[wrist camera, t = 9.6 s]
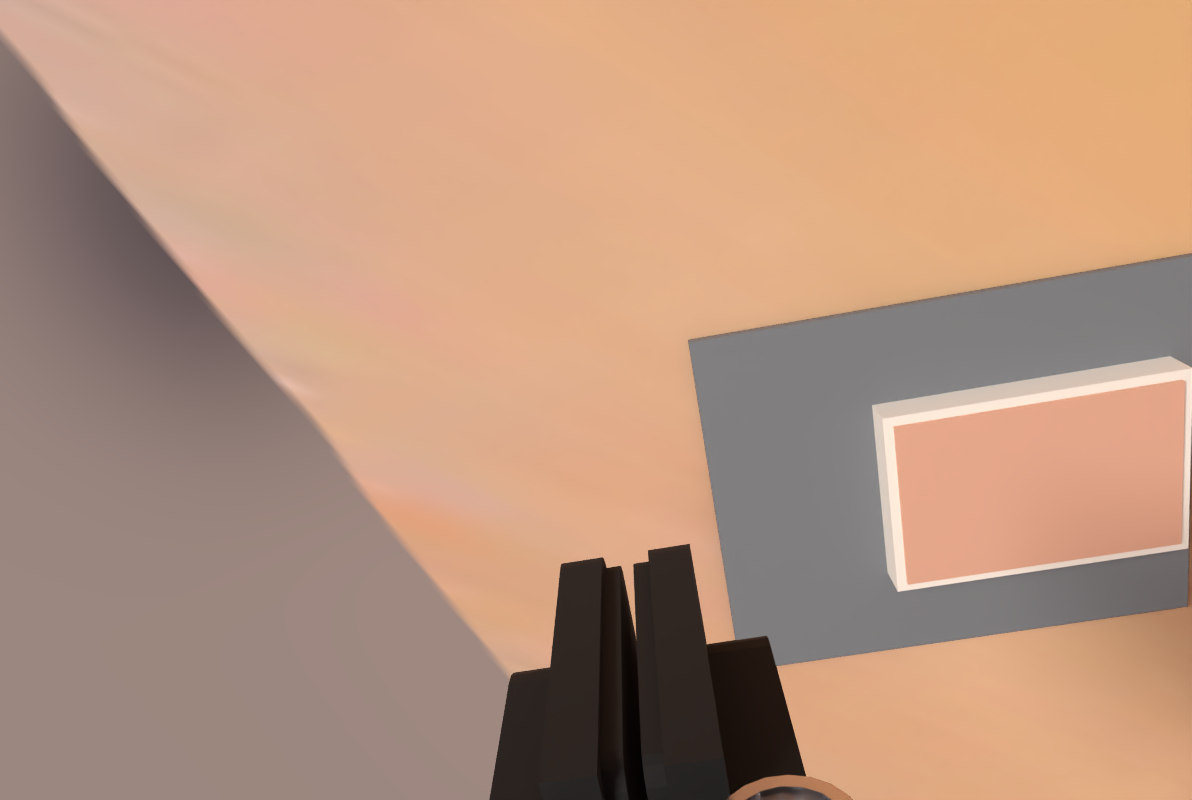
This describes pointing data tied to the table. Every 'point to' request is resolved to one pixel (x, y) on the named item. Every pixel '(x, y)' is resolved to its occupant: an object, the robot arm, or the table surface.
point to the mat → (849, 460)
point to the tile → (1036, 473)
